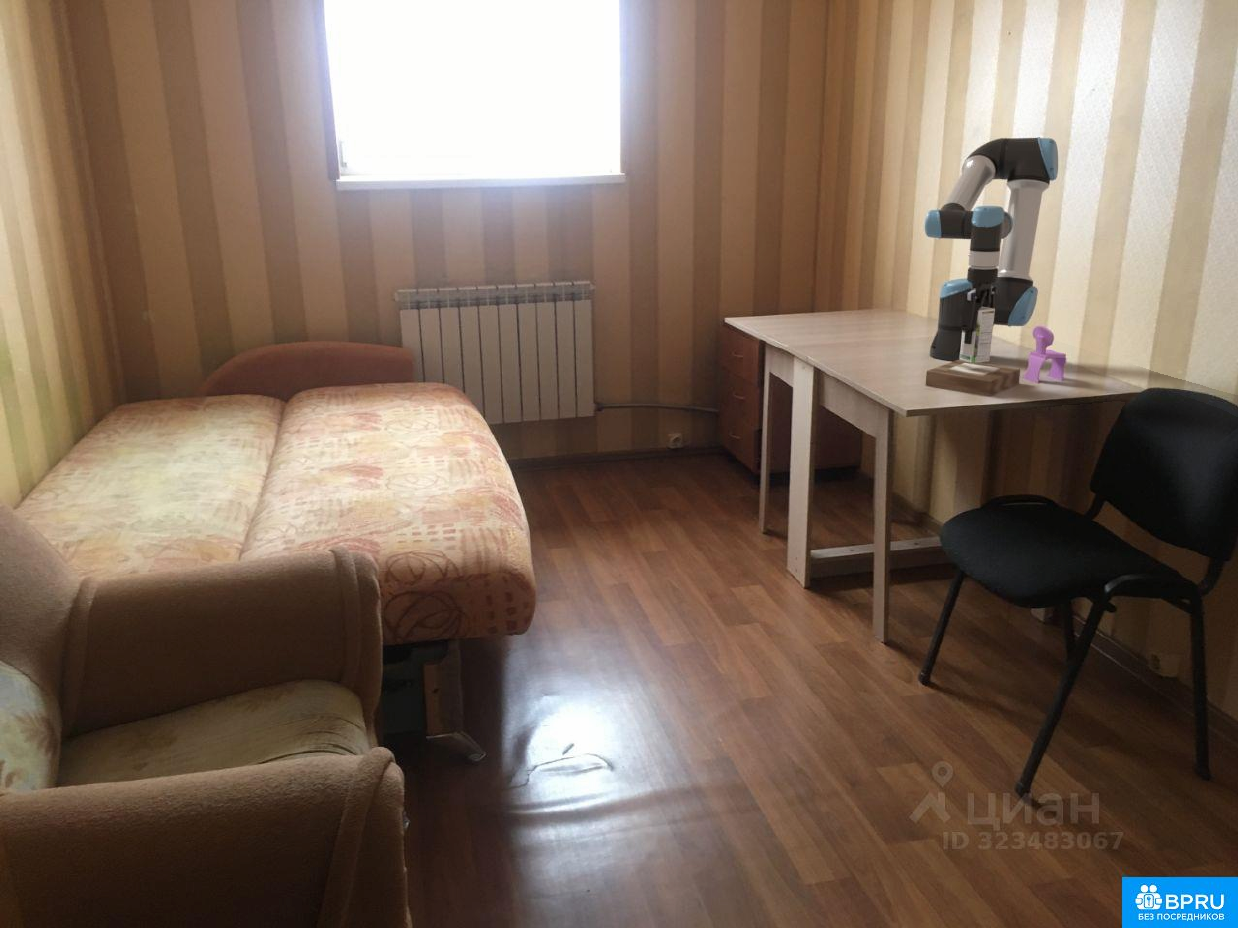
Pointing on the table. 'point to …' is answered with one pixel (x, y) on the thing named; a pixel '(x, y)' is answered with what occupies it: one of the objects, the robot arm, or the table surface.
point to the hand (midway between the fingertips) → (975, 353)
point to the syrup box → (981, 337)
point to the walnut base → (973, 377)
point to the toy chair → (1044, 356)
